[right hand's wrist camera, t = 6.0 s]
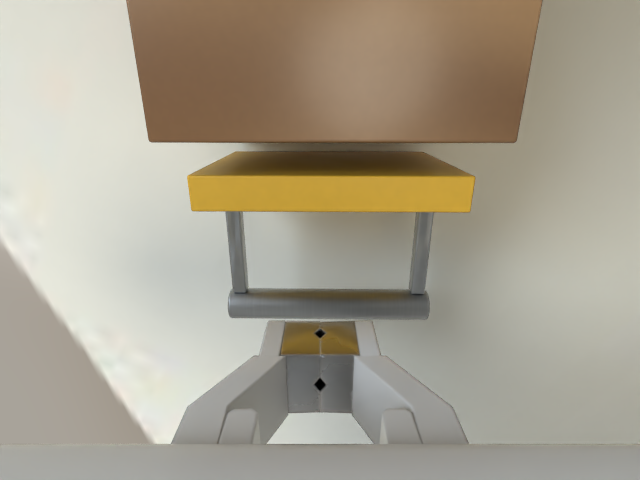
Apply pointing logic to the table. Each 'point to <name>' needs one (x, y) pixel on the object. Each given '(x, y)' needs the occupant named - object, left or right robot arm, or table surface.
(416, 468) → the right robot arm
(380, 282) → the table surface
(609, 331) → the table surface
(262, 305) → the drawer
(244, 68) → the wooden drawer cabinet
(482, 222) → the table surface
